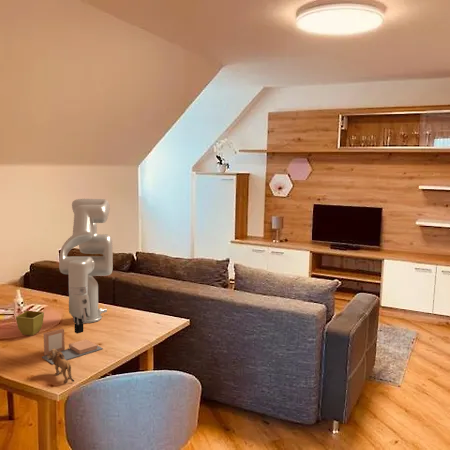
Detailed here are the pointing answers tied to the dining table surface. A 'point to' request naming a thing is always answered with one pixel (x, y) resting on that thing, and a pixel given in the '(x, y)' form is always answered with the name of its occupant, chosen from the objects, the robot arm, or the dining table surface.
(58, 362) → the lion figurine
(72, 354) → the felt mat
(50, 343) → the tile
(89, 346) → the tile
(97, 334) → the dining table surface
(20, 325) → the flower pot
